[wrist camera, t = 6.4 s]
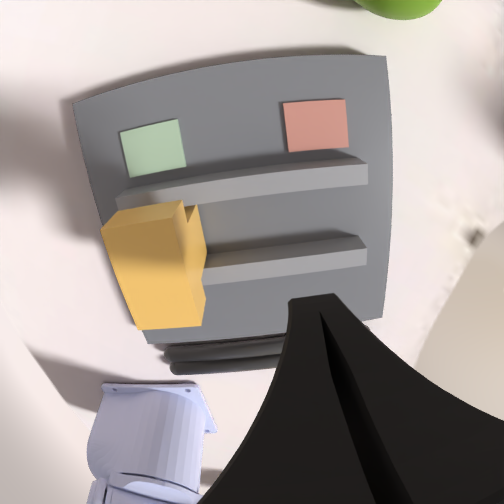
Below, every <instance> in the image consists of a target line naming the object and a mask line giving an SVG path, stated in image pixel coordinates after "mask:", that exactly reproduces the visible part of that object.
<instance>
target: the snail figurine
mask: <svg viewBox="0 0 504 504" xmlns="http://www.w3.org/2000/svg"><path fill="white" fill-rule="evenodd" d="M354 1H355V2H356V3H358V4H359V5H360V6H362V7H363V8H365V9H366V10H368V11H370V12H372V13H374V14H376V15H379V16H382V17H385V18H389V19H395V20H411V19H416V18H420V17H422V16H425V15H427V14H429V13H430V12H432V11H433V10H434V9H435V8H436V7H437V6H438V5H439V4H440V2H441V1H442V0H354Z"/></svg>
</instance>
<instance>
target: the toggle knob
mask: <svg viewBox="0 0 504 504" xmlns="http://www.w3.org/2000/svg"><path fill="white" fill-rule="evenodd" d="M100 232H101V235H102V238H103V241H104V244H105V247H106V250H107V253H108V255H109V258H110V261H111V264H112V267H113V269H114V272H115V275H116V277H117V280H118V283H119V285H120V288H121V290H122V293H123V295H124V298H125V300H126V303H127V305H128V308H129V310H130V312H131V315H132V317H133V319H134V322H135V324H136V326H137V329H138V330H151V329H167V328H181V327H194V326H201V325H202V319H203V313H204V307H205V301H206V297H205V293H204V289H203V285H202V281H201V278H202V273H203V269H204V264H205V260H206V255H207V249H206V244H205V240H204V235H203V230H202V226H201V221H200V216H199V211H198V207H197V205H191V206H185V207H184V205H183V201H182V200H177V201H171V202H165V203H159V204H153V205H148V206H142V207H137V208H131V209H126V210H121V211H117V212H116V213H115V214H114V215H113V217H112V218H111V219H110V220H109V221H108V222H107V223H106V224H105V225H104V226H103V227H102V228H101V229H100Z"/></svg>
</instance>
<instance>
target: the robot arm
mask: <svg viewBox="0 0 504 504" xmlns="http://www.w3.org/2000/svg"><path fill="white" fill-rule="evenodd" d="M101 389H102V390H103V392H104V395H103V398H102V401H101V404H100V407H99V409H98V412H97V415H96V418H95V421H94V424H93V427H92V430H91V433H90V436H89V440H88V444H87V461H88V465H89V468H90V470H91V472H92V474H93V475H94V477H95V478H96V479H97V480H95V481H93V482H92V485H91V489H90V492H89V496H88V501H87V504H504V421H503V420H501V419H498V418H496V417H494V416H491V415H489V414H487V413H485V412H483V411H481V410H479V409H477V408H475V407H473V406H471V405H469V404H467V403H466V402H464V401H462V400H460V399H459V398H457V397H455V396H453V395H452V394H450V393H448V392H447V391H445V390H443V389H441V388H440V387H438V386H437V385H435V384H434V383H432V382H431V381H429V380H428V379H427V378H425V377H424V376H423V375H421V374H420V373H418V372H417V371H416V370H414V369H413V368H412V367H411V366H409V365H408V364H407V363H406V362H404V361H403V360H402V359H401V358H400V357H398V356H397V355H396V354H395V353H394V352H393V351H391V350H390V349H389V348H388V347H387V346H386V345H385V344H384V343H383V342H381V341H380V340H379V339H378V338H377V337H376V336H375V335H374V334H373V333H372V332H371V331H370V330H369V329H368V328H367V327H366V326H365V325H364V324H363V323H362V322H361V321H360V320H359V319H358V318H357V317H356V316H355V315H354V314H353V313H352V312H351V310H350V309H349V308H348V307H347V306H346V305H345V304H344V303H343V302H342V300H341V299H340V298H339V297H338V296H337V295H336V294H335V293H328V294H321V295H314V296H307V297H300V298H292V299H290V300H289V301H288V323H287V330H286V335H285V339H284V344H283V348H282V352H281V356H280V359H279V362H278V365H277V368H276V371H275V374H274V377H273V380H272V382H271V385H270V387H269V390H268V392H267V395H266V397H265V399H264V401H263V404H262V406H261V408H260V410H259V412H258V414H257V416H256V418H255V420H254V422H253V424H252V425H251V427H250V429H249V431H248V433H247V435H246V436H245V438H244V440H243V441H242V443H241V445H240V446H239V448H238V449H237V451H236V452H235V454H234V455H233V457H232V458H231V460H230V461H229V463H228V464H227V466H226V467H225V469H224V470H223V471H222V473H221V474H220V476H219V477H218V478H217V480H216V481H215V482H214V484H213V485H212V486H211V487H210V489H209V490H208V491H207V492H206V493H205V495H204V496H203V495H199V488H200V475H201V463H202V451H203V440H204V433H216V432H217V426H216V424H215V422H214V420H213V417H212V415H211V413H210V410H209V408H208V406H207V403H206V401H205V399H204V396H203V394H202V392H201V389H200V387H199V386H198V385H197V384H109V383H103V384H102V386H101Z"/></svg>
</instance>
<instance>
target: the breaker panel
mask: <svg viewBox="0 0 504 504" xmlns="http://www.w3.org/2000/svg"><path fill="white" fill-rule="evenodd" d="M73 109H74V115H75V120H76V125H77V130H78V134H79V139H80V143H81V148H82V152H83V156H84V160H85V165H86V168H87V172H88V176H89V180H90V184H91V187H92V191H93V195H94V198H95V202H96V205H97V208H98V212H99V215H100V218H101V222H102V225H103V226H104V225H105V224H106V223H107V222H108V221H109V220H110V219H111V218H112V217H113V215H114V214H115V213H116V212H117V211H121V210H126V209H131V208H137V207H142V206H148V205H153V204H159V203H165V202H171V201H177V200H182V201H183V205H184V207H185V206H191V205H197V207H198V211H199V216H200V221H201V226H202V230H203V235H204V240H205V244H206V249H207V255H206V260H205V264H204V269H203V273H202V278H201V281H202V285H203V289H204V293H205V297H206V301H205V307H204V313H203V319H202V325H201V326H194V327H181V328H167V329H151V330H142V332H143V334H144V336H145V338H146V341H147V343H148V344H161V343H179V342H194V341H208V340H220V339H231V338H241V337H251V336H260V335H269V334H278V333H286V330H287V323H288V301H289V300H290V299H292V298H300V297H307V296H314V295H321V294H328V293H335V294H336V295H337V296H338V297H339V298H340V299H341V300H342V302H343V303H344V304H345V305H346V306H347V307H348V308H349V309H350V310H351V312H352V313H353V314H354V315H355V316H356V317H357V318H358V319H359V320H360V321H365V320H371V319H376V318H382V315H383V307H384V300H385V291H386V283H387V273H388V263H389V251H390V237H391V219H392V189H393V151H392V122H391V105H390V91H389V80H388V70H387V61H386V56H377V55H306V56H289V57H276V58H265V59H256V60H248V61H240V62H233V63H226V64H220V65H214V66H208V67H203V68H197V69H192V70H187V71H182V72H178V73H173V74H169V75H165V76H161V77H157V78H153V79H149V80H145V81H141V82H138V83H134V84H130V85H127V86H124V87H120V88H117V89H114V90H111V91H108V92H104V93H101V94H98V95H96V96H93V97H90V98H87V99H84V100H81V101H79V102H76V103H73ZM365 326H366V325H365ZM366 327H367V328H368V329H369V327H368V326H366ZM369 330H370V329H369ZM284 339H285V336H283V337H275V338H266V339H257V340H248V341H237V342H226V343H215V344H202V345H187V346H170V347H167V348H166V349H165V351H164V357H165V359H166V360H167V361H169V362H171V364H170V371H171V372H172V373H173V374H175V375H193V374H212V373H227V372H240V371H251V370H261V369H270V368H277V365H278V362H279V359H280V356H281V352H282V348H283V344H284Z"/></svg>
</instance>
